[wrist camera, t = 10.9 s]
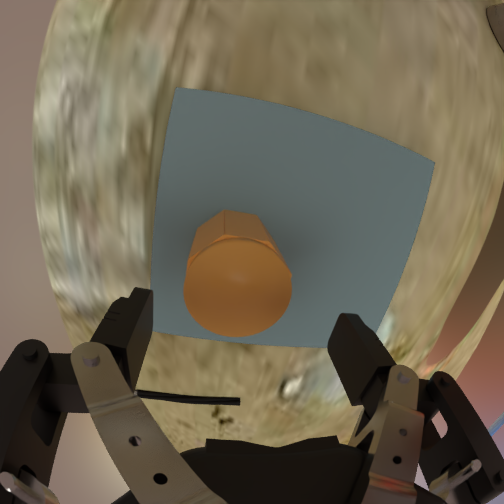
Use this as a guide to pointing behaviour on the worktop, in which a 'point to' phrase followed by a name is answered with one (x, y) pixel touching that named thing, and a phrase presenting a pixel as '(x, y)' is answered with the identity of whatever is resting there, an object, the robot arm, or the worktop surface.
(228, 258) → the cap
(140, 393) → the black thin rod
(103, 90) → the worktop surface
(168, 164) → the board
